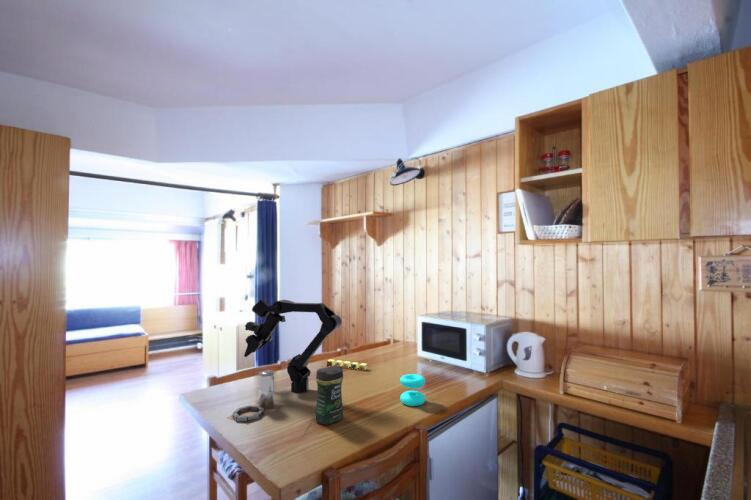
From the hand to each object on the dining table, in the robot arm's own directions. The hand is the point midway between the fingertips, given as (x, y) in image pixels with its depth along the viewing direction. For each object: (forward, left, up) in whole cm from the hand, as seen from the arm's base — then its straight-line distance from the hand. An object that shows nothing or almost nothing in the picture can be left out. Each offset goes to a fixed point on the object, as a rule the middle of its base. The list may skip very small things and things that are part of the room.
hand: (249, 354), depth 152 cm
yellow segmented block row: (-38, -35, -17) cm, 54 cm away
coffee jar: (-42, +25, -16) cm, 51 cm away
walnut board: (-14, +23, -16) cm, 31 cm away
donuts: (-72, +7, -16) cm, 74 cm away
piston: (-16, +19, -15) cm, 29 cm away
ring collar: (-12, +27, -15) cm, 33 cm away
